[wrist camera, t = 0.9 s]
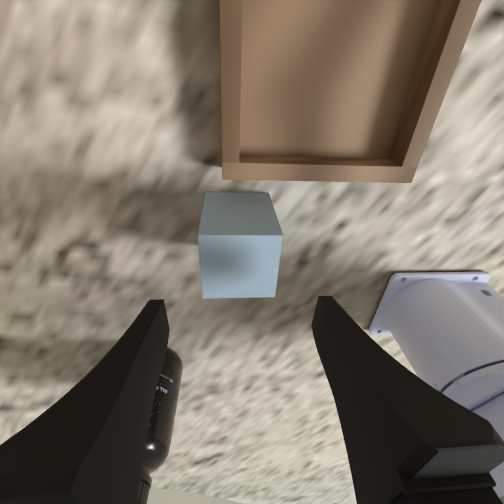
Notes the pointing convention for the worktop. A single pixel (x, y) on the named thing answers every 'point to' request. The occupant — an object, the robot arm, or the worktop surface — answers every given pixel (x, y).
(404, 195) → the worktop surface
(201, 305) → the worktop surface
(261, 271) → the block
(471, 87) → the worktop surface
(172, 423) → the supplement bottle
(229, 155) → the tray
